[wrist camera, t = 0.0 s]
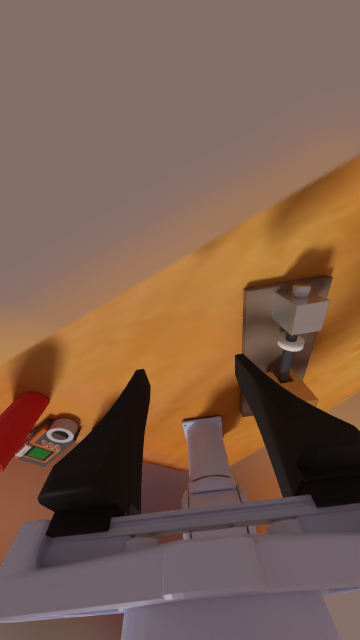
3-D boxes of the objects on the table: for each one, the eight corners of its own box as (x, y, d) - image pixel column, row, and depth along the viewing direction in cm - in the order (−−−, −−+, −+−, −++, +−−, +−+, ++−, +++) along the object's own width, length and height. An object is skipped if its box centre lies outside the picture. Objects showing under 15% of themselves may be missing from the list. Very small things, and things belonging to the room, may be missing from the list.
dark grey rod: (277, 412, 31) (286, 428, 28) (262, 414, 31) (270, 430, 29) (298, 314, 21) (315, 325, 18) (276, 318, 21) (290, 329, 18)
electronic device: (81, 437, 31) (42, 469, 35) (88, 421, 34) (51, 453, 38) (46, 423, 29) (8, 460, 33) (56, 408, 31) (20, 443, 35)
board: (290, 404, 33) (294, 409, 32) (240, 412, 33) (242, 417, 32) (325, 275, 20) (332, 277, 19) (243, 288, 21) (247, 291, 20)
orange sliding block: (287, 386, 27) (311, 417, 23) (263, 389, 27) (281, 421, 23) (291, 368, 25) (318, 399, 21) (265, 372, 25) (286, 404, 21)
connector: (296, 314, 21) (320, 330, 18) (271, 318, 22) (291, 335, 18) (304, 277, 19) (333, 288, 16) (276, 282, 19) (299, 294, 16)
